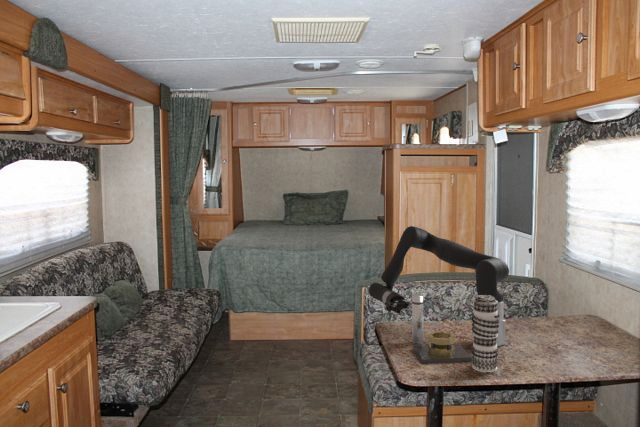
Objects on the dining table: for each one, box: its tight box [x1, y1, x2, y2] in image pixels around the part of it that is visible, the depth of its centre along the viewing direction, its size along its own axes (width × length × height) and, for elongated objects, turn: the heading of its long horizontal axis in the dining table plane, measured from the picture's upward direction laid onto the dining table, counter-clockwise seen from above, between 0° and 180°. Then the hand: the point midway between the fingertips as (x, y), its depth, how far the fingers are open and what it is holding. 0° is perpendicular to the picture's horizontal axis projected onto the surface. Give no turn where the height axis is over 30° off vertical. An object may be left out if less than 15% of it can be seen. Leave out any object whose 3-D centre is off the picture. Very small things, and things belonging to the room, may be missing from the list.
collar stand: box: [411, 331, 473, 365], centre depth 186 cm, size 18×14×8 cm
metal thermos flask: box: [411, 293, 424, 346], centre depth 199 cm, size 4×4×19 cm
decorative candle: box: [470, 295, 500, 373], centre depth 173 cm, size 9×9×25 cm
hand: (409, 310), depth 206 cm, fingers open, 8 cm apart
